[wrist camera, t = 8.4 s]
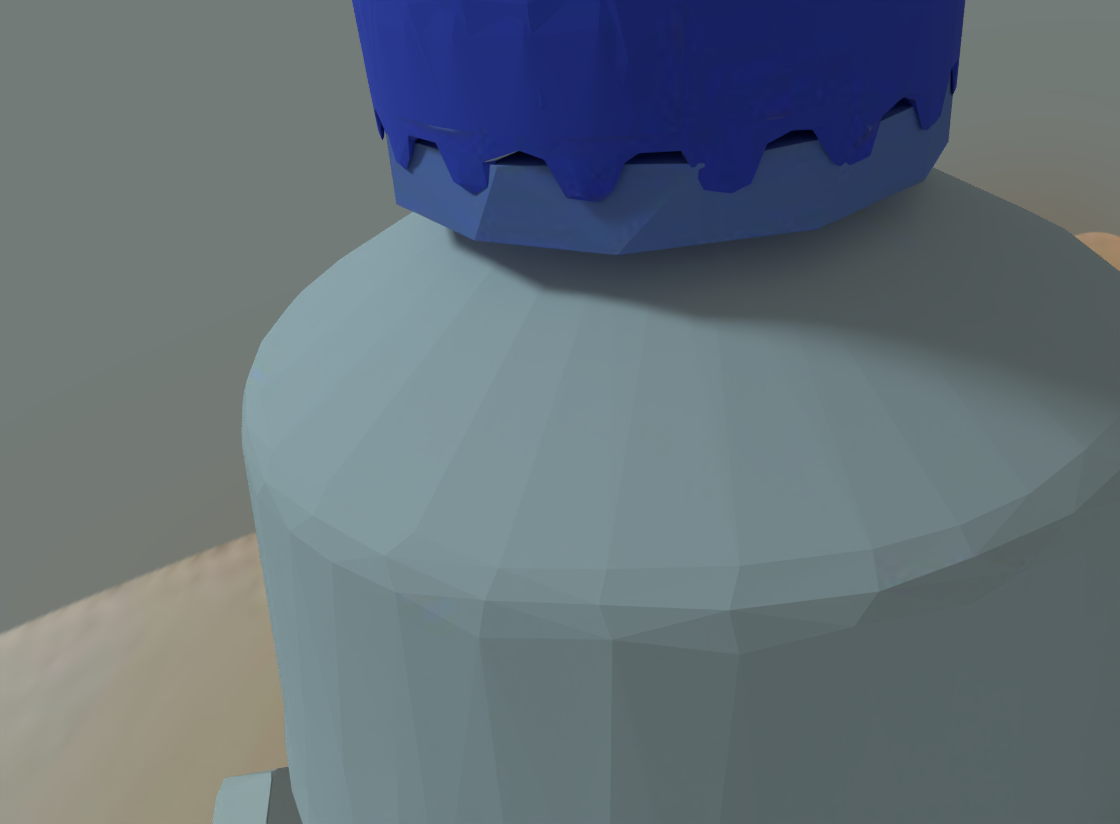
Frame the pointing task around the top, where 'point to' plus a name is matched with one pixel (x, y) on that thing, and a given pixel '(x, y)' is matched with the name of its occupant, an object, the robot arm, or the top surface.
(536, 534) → the bottle
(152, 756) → the top surface
